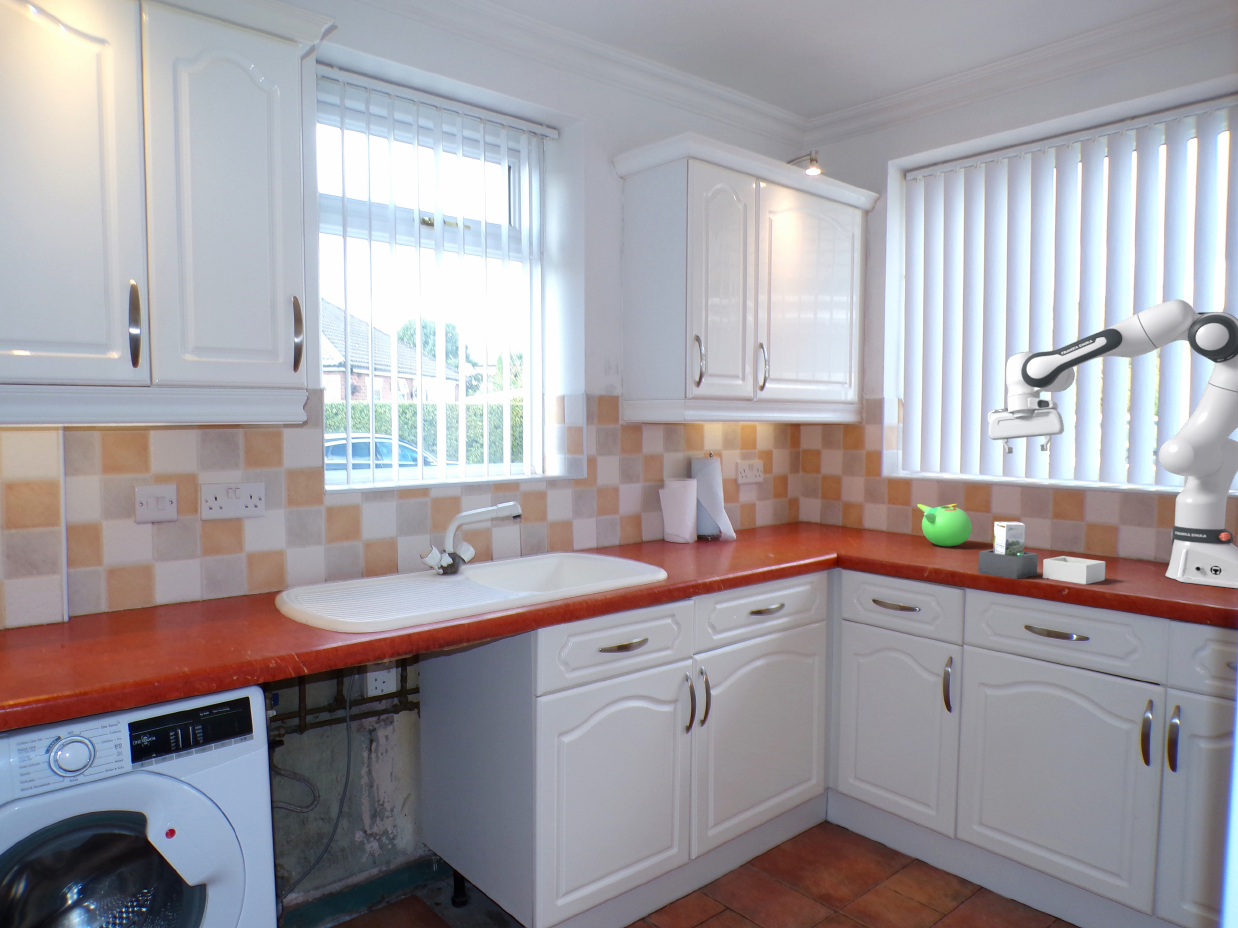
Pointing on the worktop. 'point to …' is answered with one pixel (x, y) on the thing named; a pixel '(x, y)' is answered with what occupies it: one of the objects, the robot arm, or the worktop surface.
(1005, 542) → the syrup box
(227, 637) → the worktop surface
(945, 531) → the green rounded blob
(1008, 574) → the gray storage box
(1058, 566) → the white storage tray
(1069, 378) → the robot arm
